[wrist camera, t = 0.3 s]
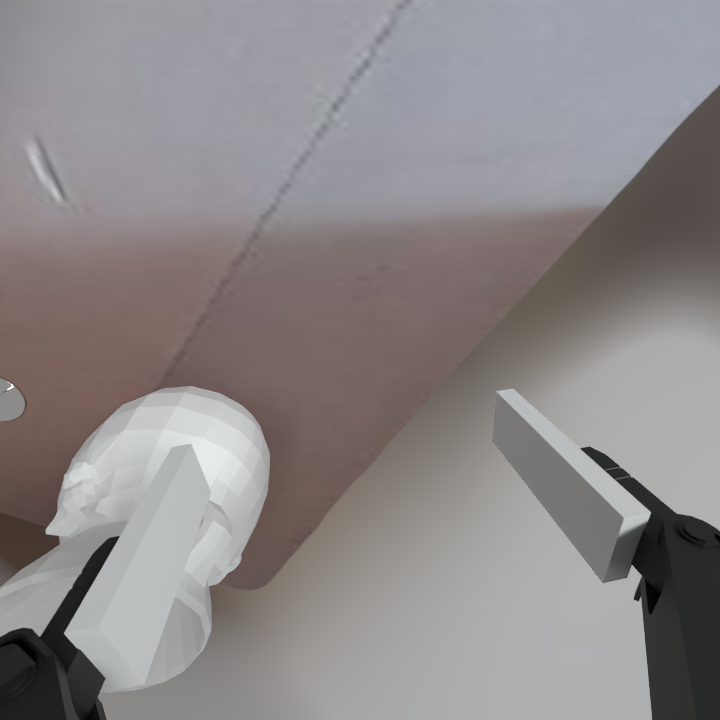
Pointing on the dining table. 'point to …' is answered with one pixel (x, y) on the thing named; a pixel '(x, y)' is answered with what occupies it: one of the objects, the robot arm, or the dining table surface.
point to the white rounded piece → (122, 496)
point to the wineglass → (10, 401)
